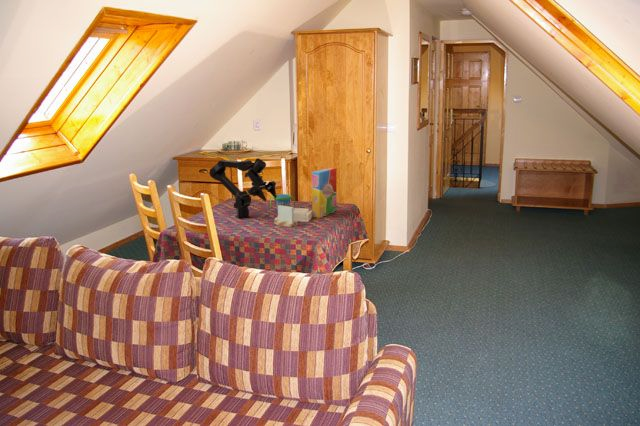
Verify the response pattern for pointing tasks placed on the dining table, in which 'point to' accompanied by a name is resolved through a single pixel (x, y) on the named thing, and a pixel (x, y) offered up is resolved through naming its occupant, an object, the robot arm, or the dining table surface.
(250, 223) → the dining table surface
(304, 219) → the rack
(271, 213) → the dining table surface
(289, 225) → the stand
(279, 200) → the snack cup
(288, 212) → the pale grey tapered slat
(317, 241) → the dining table surface
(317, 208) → the game box
